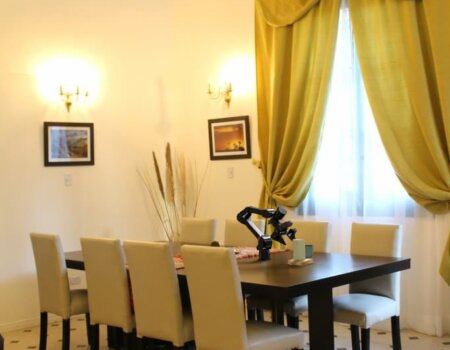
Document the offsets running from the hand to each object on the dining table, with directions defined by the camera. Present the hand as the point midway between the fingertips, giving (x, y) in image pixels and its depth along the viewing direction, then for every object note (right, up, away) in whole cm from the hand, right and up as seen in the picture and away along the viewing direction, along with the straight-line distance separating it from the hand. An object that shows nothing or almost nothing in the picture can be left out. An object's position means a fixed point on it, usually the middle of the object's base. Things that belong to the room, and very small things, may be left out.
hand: (291, 244), depth 380 cm
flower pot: (+11, -11, +9) cm, 18 cm away
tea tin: (+4, -9, -5) cm, 11 cm away
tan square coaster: (+5, -12, -5) cm, 14 cm away
